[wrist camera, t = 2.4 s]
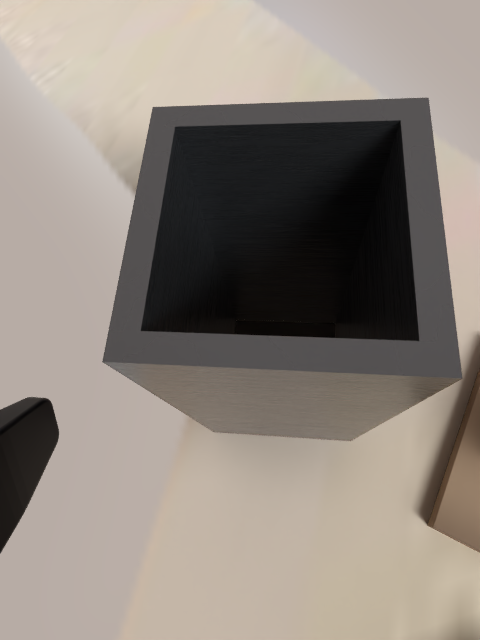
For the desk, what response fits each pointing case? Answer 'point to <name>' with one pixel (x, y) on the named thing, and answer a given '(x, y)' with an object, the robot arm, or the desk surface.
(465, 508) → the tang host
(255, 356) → the socket sleeve
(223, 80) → the desk surface
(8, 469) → the robot arm
